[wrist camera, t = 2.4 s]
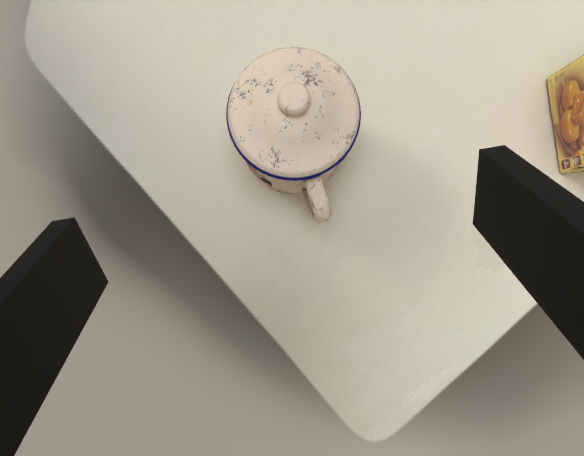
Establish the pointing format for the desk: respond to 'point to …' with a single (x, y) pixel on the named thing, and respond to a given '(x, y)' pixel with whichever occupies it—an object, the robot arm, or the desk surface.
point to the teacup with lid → (294, 121)
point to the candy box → (568, 115)
